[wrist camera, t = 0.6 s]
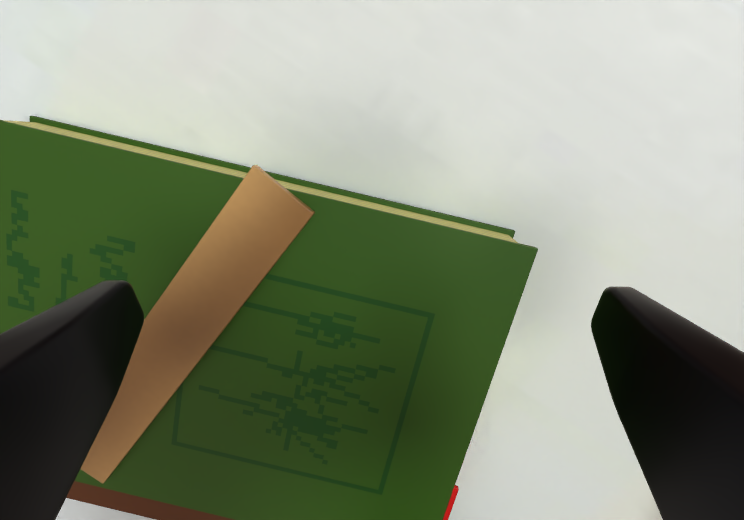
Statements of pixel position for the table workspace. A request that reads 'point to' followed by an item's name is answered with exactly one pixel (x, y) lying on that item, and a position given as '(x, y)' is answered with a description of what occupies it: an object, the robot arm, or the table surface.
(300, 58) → the table surface
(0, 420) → the robot arm
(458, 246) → the hardcover book
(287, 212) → the ruler
